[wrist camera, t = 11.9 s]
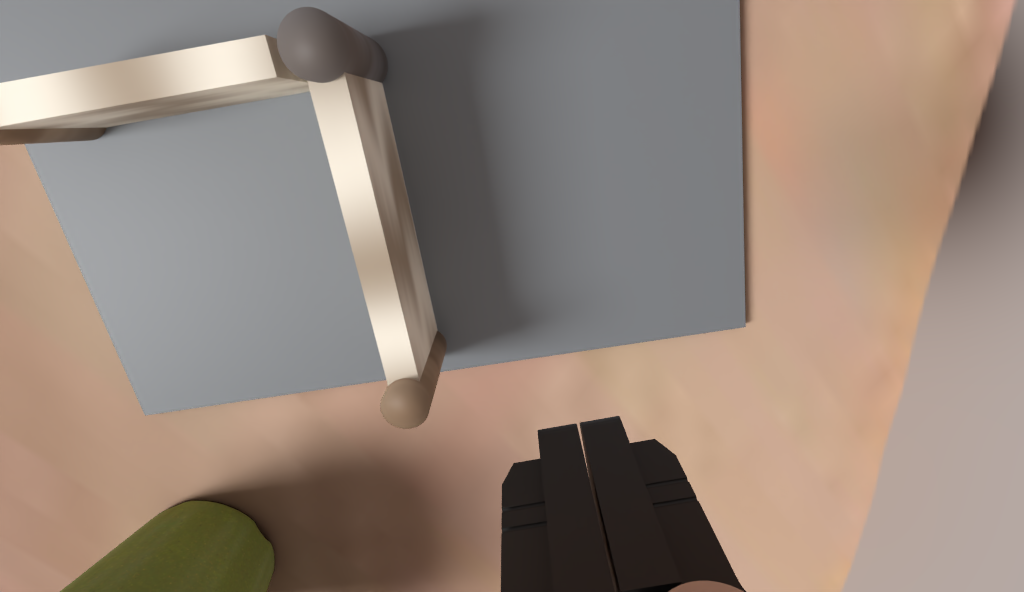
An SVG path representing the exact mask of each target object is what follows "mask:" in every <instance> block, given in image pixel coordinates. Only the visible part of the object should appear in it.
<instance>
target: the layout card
mask: <svg viewBox="0 0 1024 592" xmlns="http://www.w3.org/2000/svg"><path fill="white" fill-rule="evenodd" d="M300 7H314V8H317V9H320V10H322V11H324V12H326V13H328V14H329V15H331V16H333V17H335V18H336V19H338V20H340V21H341V22H343V23H345V24H347V25H348V26H350V27H352V28H354V29H355V30H357V31H359V32H361V33H362V34H364V35H366V36H367V37H369V38H371V39H373V40H374V41H376V42H377V43H378V44H379V45H380V46H381V47H382V49H383V50H384V52H385V55H386V57H387V62H388V71H387V75H386V77H385V79H384V81H383V82H382V85H383V89H384V94H385V98H386V103H387V107H388V112H389V116H390V121H391V125H392V130H393V134H394V139H395V143H396V148H397V152H398V157H399V161H400V166H401V170H402V175H403V179H404V184H405V188H406V193H407V197H408V202H409V206H410V211H411V215H412V220H413V224H414V229H415V233H416V238H417V242H418V247H419V251H420V256H421V260H422V265H423V269H424V274H425V278H426V283H427V287H428V292H429V296H430V300H431V305H432V309H433V314H434V318H435V323H436V327H437V331H439V332H440V333H441V334H442V335H443V336H444V338H445V340H446V344H447V348H446V352H445V356H444V360H443V363H442V367H441V370H440V372H443V371H450V370H457V369H464V368H471V367H477V366H484V365H491V364H498V363H504V362H511V361H518V360H525V359H532V358H538V357H545V356H552V355H559V354H566V353H572V352H579V351H586V350H593V349H600V348H606V347H613V346H620V345H627V344H633V343H640V342H647V341H654V340H661V339H667V338H674V337H681V336H688V335H695V334H701V333H708V332H715V331H722V330H728V329H735V328H742V327H746V324H745V269H744V214H743V160H742V105H741V50H740V0H0V83H3V82H8V81H14V80H19V79H25V78H30V77H36V76H41V75H47V74H52V73H58V72H63V71H69V70H74V69H80V68H85V67H91V66H96V65H102V64H107V63H113V62H118V61H124V60H129V59H135V58H140V57H146V56H151V55H157V54H162V53H167V52H173V51H178V50H184V49H189V48H195V47H200V46H206V45H211V44H217V43H222V42H228V41H233V40H239V39H244V38H250V37H255V36H261V35H267V36H270V37H273V38H276V39H277V33H278V29H279V26H280V23H281V22H282V20H283V18H284V17H285V16H286V15H287V14H288V13H289V12H291V11H292V10H294V9H297V8H300ZM25 146H26V149H27V151H28V153H29V155H30V158H31V160H32V162H33V164H34V167H35V169H36V171H37V173H38V176H39V178H40V180H41V182H42V185H43V187H44V189H45V191H46V194H47V196H48V198H49V200H50V203H51V205H52V207H53V209H54V212H55V214H56V216H57V218H58V221H59V223H60V225H61V227H62V230H63V232H64V234H65V236H66V239H67V241H68V243H69V245H70V248H71V250H72V252H73V254H74V257H75V259H76V261H77V263H78V266H79V268H80V270H81V272H82V275H83V277H84V279H85V281H86V284H87V286H88V288H89V291H90V293H91V295H92V297H93V300H94V302H95V304H96V306H97V309H98V311H99V313H100V315H101V318H102V320H103V322H104V324H105V327H106V329H107V331H108V333H109V336H110V338H111V340H112V342H113V345H114V347H115V349H116V351H117V354H118V356H119V358H120V360H121V363H122V365H123V367H124V369H125V372H126V374H127V376H128V378H129V381H130V383H131V385H132V387H133V390H134V392H135V394H136V396H137V399H138V401H139V403H140V405H141V408H142V410H143V412H144V414H145V415H151V414H158V413H165V412H172V411H179V410H185V409H192V408H199V407H206V406H213V405H219V404H226V403H233V402H240V401H247V400H253V399H260V398H267V397H274V396H280V395H287V394H294V393H301V392H308V391H314V390H321V389H328V388H335V387H342V386H348V385H355V384H362V383H369V382H376V381H382V380H386V376H385V372H384V368H383V365H382V361H381V357H380V353H379V350H378V346H377V342H376V338H375V335H374V331H373V327H372V323H371V319H370V316H369V312H368V308H367V304H366V301H365V297H364V293H363V289H362V285H361V282H360V278H359V274H358V270H357V267H356V263H355V259H354V255H353V252H352V248H351V244H350V240H349V236H348V233H347V229H346V225H345V221H344V218H343V214H342V210H341V206H340V203H339V199H338V195H337V191H336V187H335V184H334V180H333V176H332V172H331V169H330V165H329V161H328V157H327V154H326V150H325V146H324V142H323V138H322V135H321V131H320V127H319V123H318V120H317V116H316V112H315V108H314V104H313V101H312V97H311V93H310V92H305V93H299V94H293V95H288V96H282V97H276V98H271V99H265V100H259V101H253V102H248V103H242V104H236V105H231V106H225V107H219V108H214V109H208V110H202V111H197V112H191V113H185V114H180V115H174V116H168V117H163V118H157V119H151V120H146V121H140V122H134V123H129V124H123V125H117V126H112V127H107V128H106V131H105V132H104V134H103V135H102V136H101V137H100V138H98V139H96V140H91V141H73V142H54V143H34V144H25Z"/></svg>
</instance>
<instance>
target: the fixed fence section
mask: <svg viewBox="0 0 1024 592" xmlns="http://www.w3.org/2000/svg"><path fill="white" fill-rule="evenodd" d="M305 92H310V89H309V86H308V82H307V80H304V79H301V78H299V77H298V76H296V75H295V74H293V73H292V72H291V71H290V70H289V69H288V68H287V67H286V65H285V64H284V62H283V61H282V59H281V57H280V54H279V51H278V47H277V39H276V38H273V37H270V36H267V35H261V36H255V37H250V38H244V39H239V40H233V41H228V42H222V43H217V44H211V45H206V46H200V47H195V48H189V49H184V50H178V51H173V52H167V53H162V54H157V55H151V56H146V57H140V58H135V59H129V60H124V61H118V62H113V63H107V64H102V65H96V66H91V67H85V68H80V69H74V70H69V71H63V72H58V73H52V74H47V75H41V76H36V77H30V78H25V79H19V80H14V81H8V82H3V83H0V145H15V144H34V143H54V142H73V141H91V140H96V139H98V138H100V137H101V136H102V135H103V134H104V132H105V131H106V128H107V127H112V126H117V125H123V124H129V123H134V122H140V121H146V120H151V119H157V118H163V117H168V116H174V115H180V114H185V113H191V112H197V111H202V110H208V109H214V108H219V107H225V106H231V105H236V104H242V103H248V102H253V101H259V100H265V99H271V98H276V97H282V96H288V95H293V94H299V93H305Z"/></svg>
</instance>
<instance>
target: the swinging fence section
mask: <svg viewBox="0 0 1024 592" xmlns="http://www.w3.org/2000/svg"><path fill="white" fill-rule="evenodd" d="M277 47H278V51H279V54H280V57H281V59H282V61H283V62H284V64H285V65H286V67H287V68H288V69H289V70H290V71H291V72H292V73H293V74H295V75H296V76H298V77H299V78H301V79H304V80H307V82H308V86H309V89H310V93H311V97H312V101H313V104H314V108H315V112H316V116H317V120H318V123H319V127H320V131H321V135H322V138H323V142H324V146H325V150H326V154H327V157H328V161H329V165H330V169H331V172H332V176H333V180H334V184H335V187H336V191H337V195H338V199H339V203H340V206H341V210H342V214H343V218H344V221H345V225H346V229H347V233H348V236H349V240H350V244H351V248H352V252H353V255H354V259H355V263H356V267H357V270H358V274H359V278H360V282H361V285H362V289H363V293H364V297H365V301H366V304H367V308H368V312H369V316H370V319H371V323H372V327H373V331H374V335H375V338H376V342H377V346H378V350H379V353H380V357H381V361H382V365H383V368H384V372H385V376H386V380H387V384H388V386H387V388H386V391H385V393H384V395H383V397H382V399H381V403H380V409H381V413H382V415H383V417H384V418H385V420H386V421H387V422H389V423H390V424H391V425H393V426H395V427H398V428H402V429H410V428H415V427H417V426H419V425H421V424H422V423H423V422H424V421H425V420H426V418H427V416H428V413H429V410H430V406H431V403H432V399H433V396H434V392H435V388H436V385H437V381H438V378H439V374H440V370H441V367H442V363H443V360H444V356H445V352H446V348H447V344H446V340H445V338H444V336H443V335H442V334H441V333H440V332H439V331H437V327H436V323H435V318H434V314H433V309H432V305H431V300H430V296H429V292H428V287H427V283H426V278H425V274H424V269H423V265H422V260H421V256H420V251H419V247H418V242H417V238H416V233H415V229H414V224H413V220H412V215H411V211H410V206H409V202H408V197H407V193H406V188H405V184H404V179H403V175H402V170H401V166H400V161H399V157H398V152H397V148H396V143H395V139H394V134H393V130H392V125H391V121H390V116H389V112H388V107H387V103H386V98H385V94H384V89H383V85H382V82H383V81H384V79H385V77H386V75H387V71H388V62H387V57H386V55H385V52H384V50H383V49H382V47H381V46H380V45H379V44H378V43H377V42H376V41H374V40H373V39H371V38H369V37H367V36H366V35H364V34H362V33H361V32H359V31H357V30H355V29H354V28H352V27H350V26H348V25H347V24H345V23H343V22H341V21H340V20H338V19H336V18H335V17H333V16H331V15H329V14H328V13H326V12H324V11H322V10H320V9H317V8H314V7H300V8H297V9H294V10H292V11H291V12H289V13H288V14H287V15H286V16H285V17H284V18H283V20H282V22H281V23H280V26H279V29H278V33H277Z"/></svg>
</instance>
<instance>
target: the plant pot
mask: <svg viewBox="0 0 1024 592" xmlns="http://www.w3.org/2000/svg"><path fill="white" fill-rule="evenodd" d="M273 571H274V551H273V548H272V545H271V543H270V542H269V541H268V540H266V539H265V538H264V537H263V535H262V534H261V533H260V531H259V530H258V528H257V526H256V524H255V522H254V521H253V520H252V519H250V518H249V517H248V516H246V515H245V514H243V513H242V512H240V511H238V510H236V509H233V508H231V507H229V506H226V505H223V504H219V503H215V502H208V501H189V502H184V503H182V504H179V505H177V506H174V507H172V508H169V509H167V510H165V511H163V512H161V513H159V514H158V515H157V516H156V517H154V518H153V519H152V520H150V521H149V522H148V523H146V524H145V525H144V526H143V527H141V528H140V529H139V530H137V531H136V532H135V533H134V534H132V535H131V536H130V537H129V538H127V539H126V540H125V541H124V542H122V543H121V544H120V545H118V546H117V547H116V548H115V549H113V550H112V551H111V552H110V553H108V554H107V555H106V556H105V557H103V558H102V559H101V560H99V561H98V562H97V563H96V564H94V565H93V566H92V567H91V568H89V569H88V570H87V571H86V572H84V573H83V574H82V575H81V576H79V577H78V578H77V579H75V580H74V581H73V582H72V583H70V584H69V585H68V586H67V587H65V588H64V589H63V590H61V591H60V592H267V589H268V586H269V583H270V580H271V577H272V574H273Z"/></svg>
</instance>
